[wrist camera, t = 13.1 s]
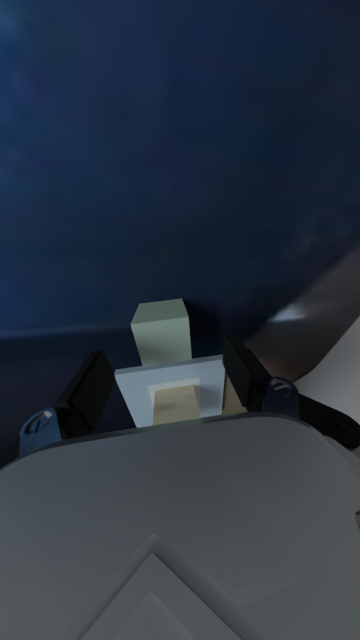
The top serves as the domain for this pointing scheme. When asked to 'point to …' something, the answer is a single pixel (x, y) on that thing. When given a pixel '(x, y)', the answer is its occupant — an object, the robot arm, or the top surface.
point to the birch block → (175, 405)
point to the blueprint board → (172, 385)
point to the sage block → (162, 332)
